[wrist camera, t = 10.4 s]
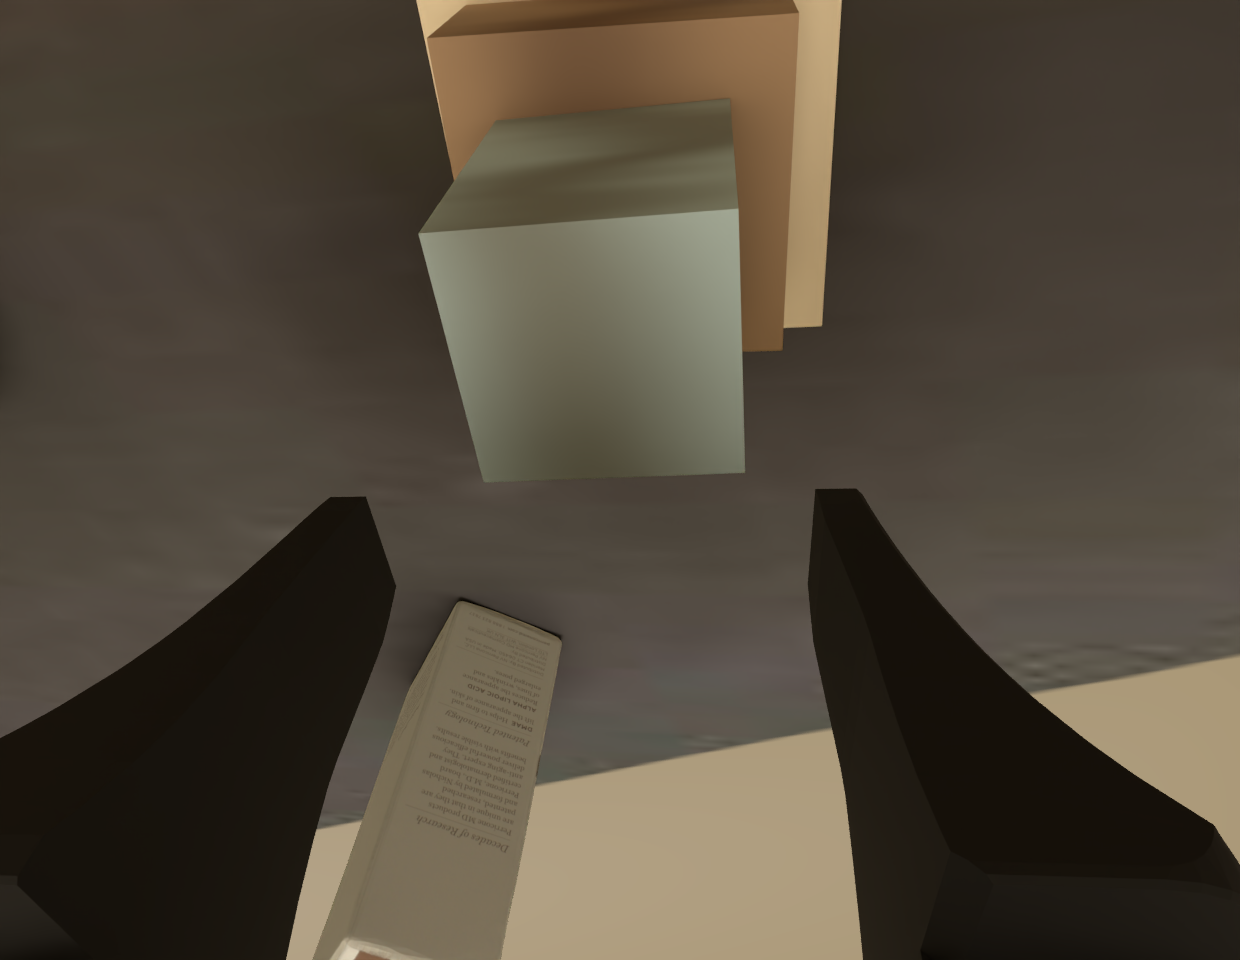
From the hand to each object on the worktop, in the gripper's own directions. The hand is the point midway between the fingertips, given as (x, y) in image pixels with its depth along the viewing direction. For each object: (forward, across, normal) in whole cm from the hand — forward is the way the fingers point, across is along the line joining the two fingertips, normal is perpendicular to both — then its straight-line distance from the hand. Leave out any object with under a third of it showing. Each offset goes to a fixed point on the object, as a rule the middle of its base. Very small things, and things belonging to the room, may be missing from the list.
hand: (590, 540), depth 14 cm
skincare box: (+11, +7, +15) cm, 20 cm away
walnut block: (+8, 0, -4) cm, 9 cm away
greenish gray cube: (+5, 0, -3) cm, 6 cm away
